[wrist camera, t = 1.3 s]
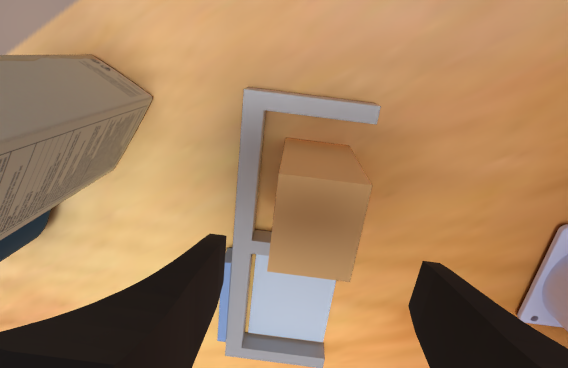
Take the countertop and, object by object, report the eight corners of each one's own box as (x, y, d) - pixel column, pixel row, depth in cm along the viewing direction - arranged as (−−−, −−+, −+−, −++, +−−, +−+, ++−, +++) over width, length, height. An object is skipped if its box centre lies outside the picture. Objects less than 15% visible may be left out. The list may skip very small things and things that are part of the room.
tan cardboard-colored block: (349, 145, 20) (372, 185, 14) (335, 216, 22) (349, 282, 15) (285, 137, 20) (278, 173, 14) (277, 209, 22) (266, 271, 15)
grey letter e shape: (374, 103, 19) (382, 107, 17) (321, 352, 26) (322, 371, 25) (237, 85, 19) (232, 88, 17) (221, 339, 26) (216, 357, 25)
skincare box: (92, 52, 19) (-222, 37, 8) (158, 98, 20) (-37, 147, 8) (53, 137, 21) (-243, 226, 10) (115, 176, 22) (-91, 301, 10)
